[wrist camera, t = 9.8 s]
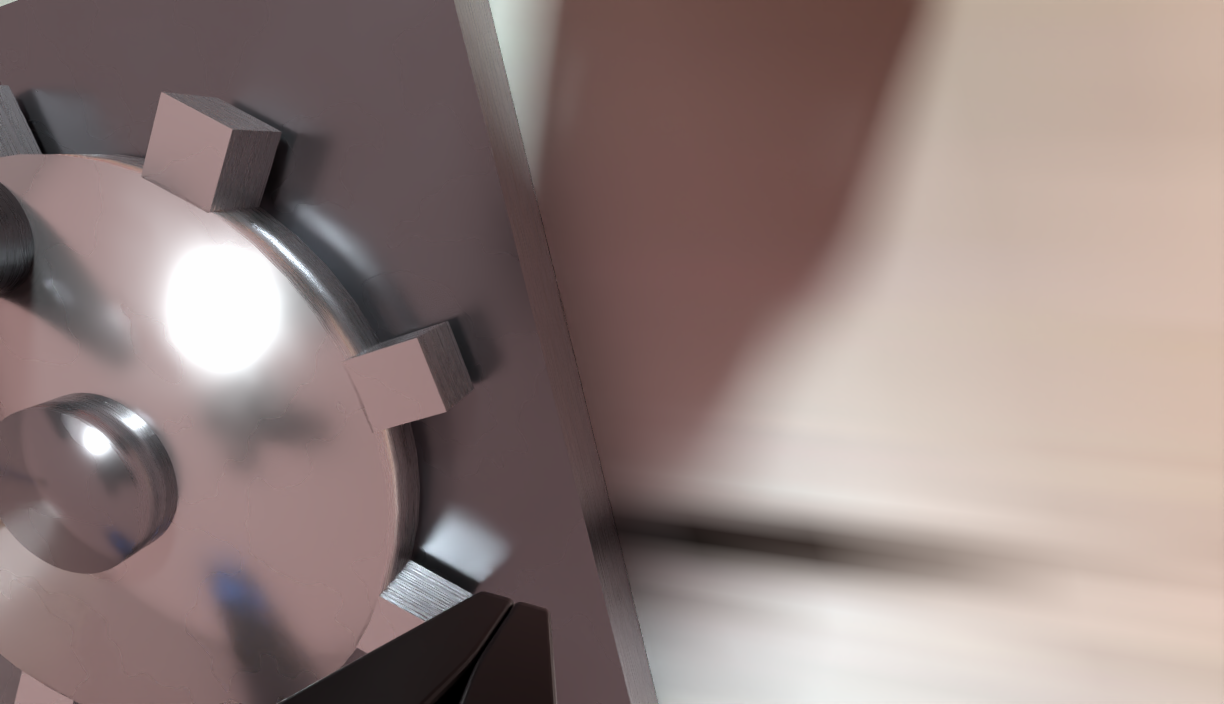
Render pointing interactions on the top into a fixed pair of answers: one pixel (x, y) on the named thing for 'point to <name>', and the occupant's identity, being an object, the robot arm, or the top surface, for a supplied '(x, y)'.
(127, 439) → the sprocket
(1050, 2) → the top surface
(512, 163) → the index base
